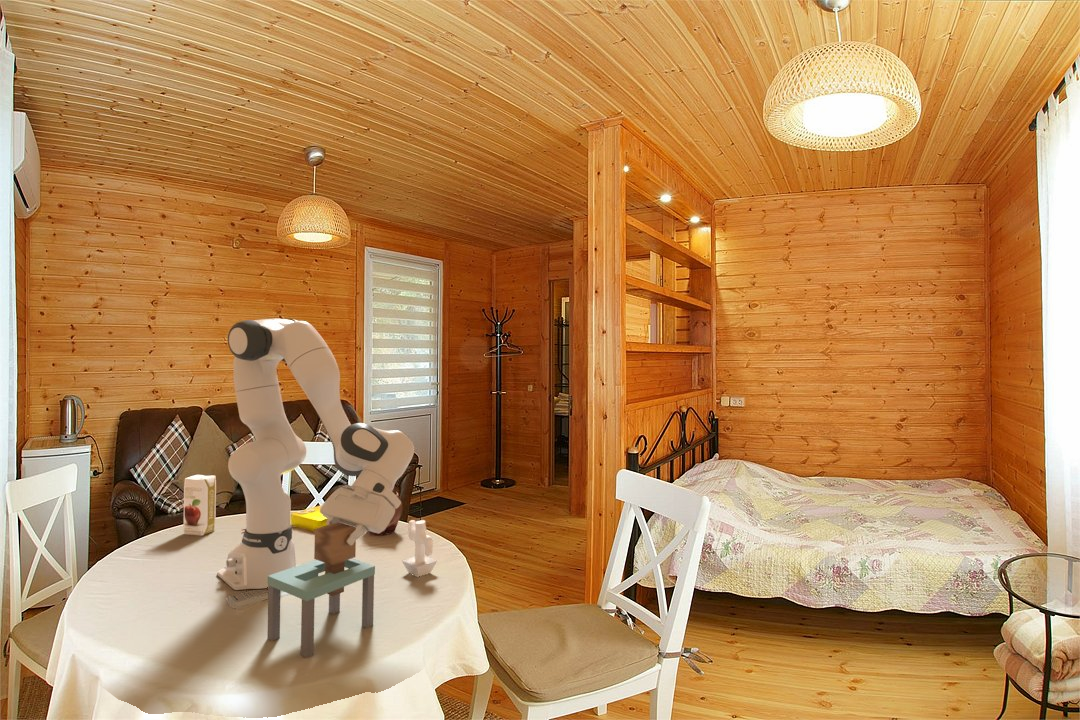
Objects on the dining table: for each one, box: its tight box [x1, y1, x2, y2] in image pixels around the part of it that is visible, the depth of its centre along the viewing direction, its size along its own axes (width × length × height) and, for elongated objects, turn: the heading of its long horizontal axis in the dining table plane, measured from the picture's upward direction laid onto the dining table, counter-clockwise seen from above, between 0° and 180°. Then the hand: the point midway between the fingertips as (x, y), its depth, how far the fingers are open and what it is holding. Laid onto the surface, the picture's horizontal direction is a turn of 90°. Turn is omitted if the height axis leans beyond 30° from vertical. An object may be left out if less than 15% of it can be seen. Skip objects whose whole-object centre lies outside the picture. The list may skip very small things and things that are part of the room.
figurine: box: [401, 519, 438, 578], centre depth 169 cm, size 7×9×15 cm
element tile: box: [290, 504, 340, 533], centre depth 213 cm, size 15×15×5 cm
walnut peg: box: [313, 522, 357, 596], centre depth 136 cm, size 6×6×15 cm
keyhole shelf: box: [266, 558, 376, 659], centre depth 134 cm, size 18×14×14 cm
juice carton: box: [183, 474, 217, 537], centre depth 199 cm, size 8×9×19 cm
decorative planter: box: [366, 490, 403, 537], centre depth 204 cm, size 20×12×14 cm, turn 42°
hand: (336, 540), depth 136 cm, fingers closed on walnut peg, 6 cm apart
